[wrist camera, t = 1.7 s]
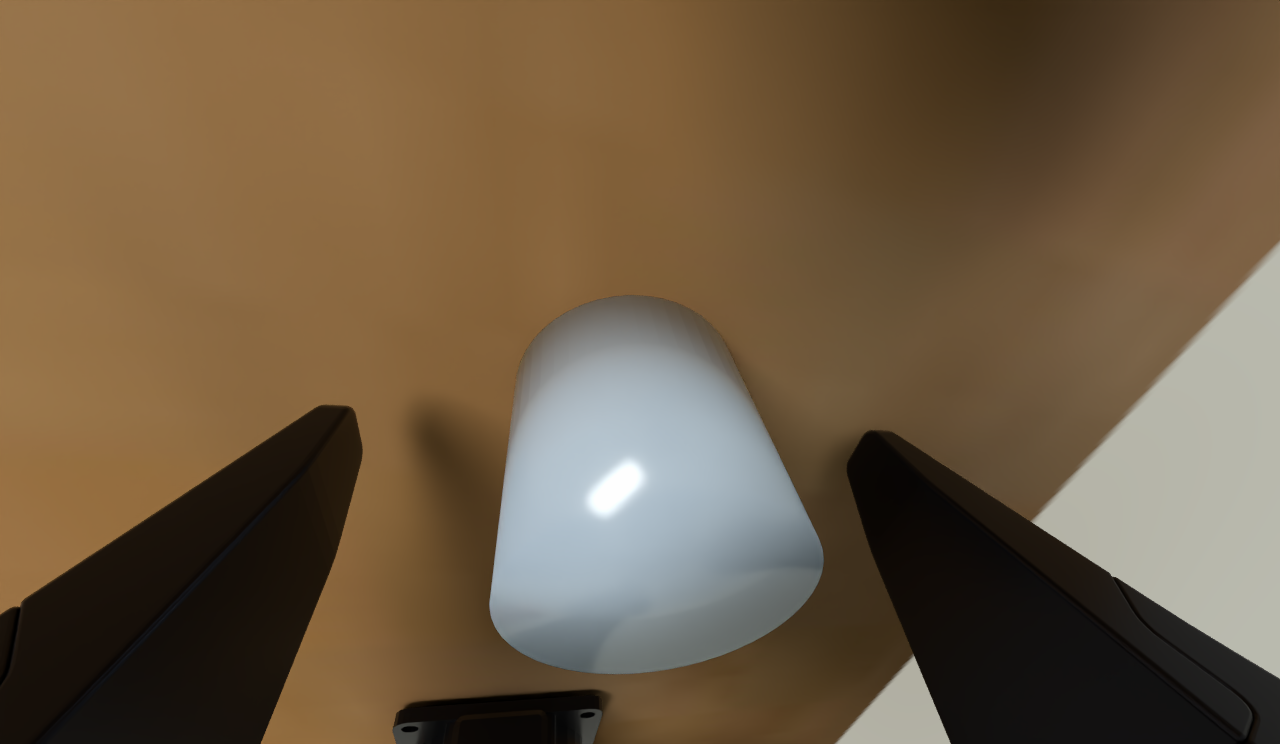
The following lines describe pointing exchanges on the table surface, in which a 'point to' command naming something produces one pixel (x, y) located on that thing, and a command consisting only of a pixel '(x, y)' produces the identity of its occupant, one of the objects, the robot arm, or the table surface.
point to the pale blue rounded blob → (642, 498)
